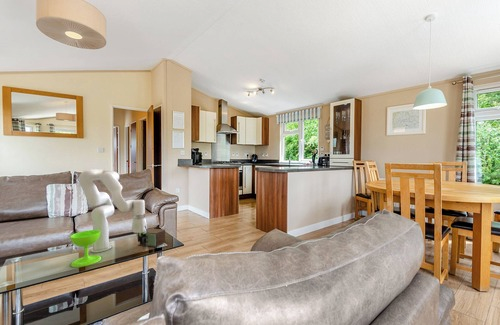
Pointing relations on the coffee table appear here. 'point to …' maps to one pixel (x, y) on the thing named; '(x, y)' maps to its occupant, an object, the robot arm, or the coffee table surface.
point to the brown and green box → (159, 236)
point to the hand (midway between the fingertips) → (140, 241)
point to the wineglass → (85, 247)
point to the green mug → (149, 239)
